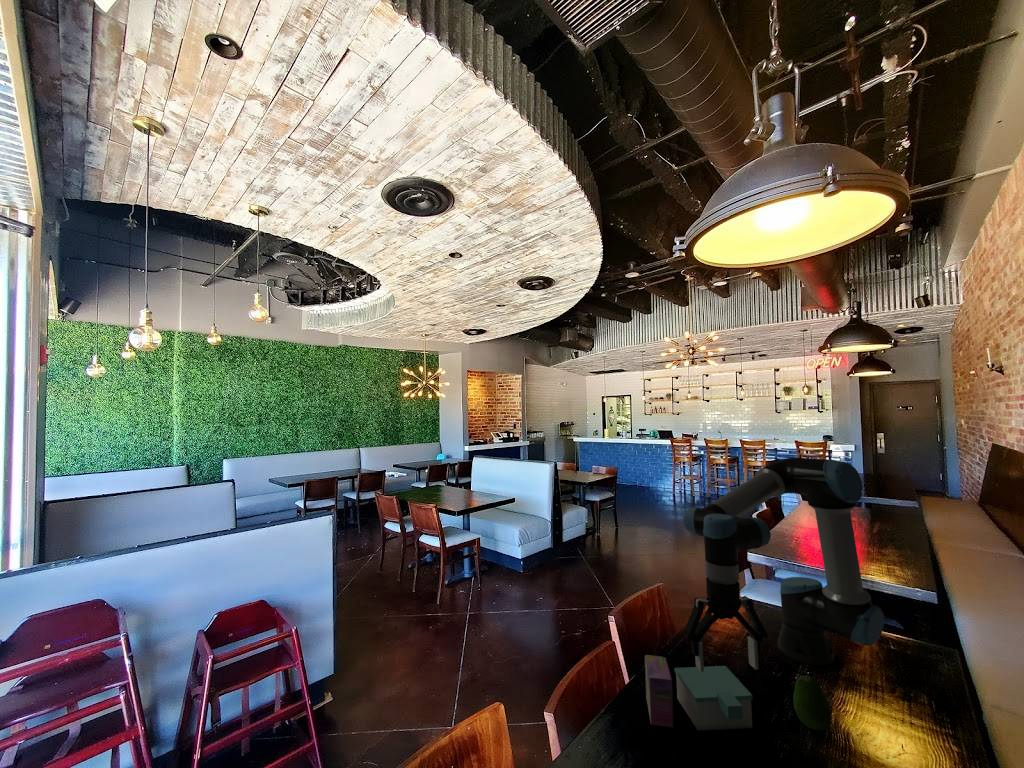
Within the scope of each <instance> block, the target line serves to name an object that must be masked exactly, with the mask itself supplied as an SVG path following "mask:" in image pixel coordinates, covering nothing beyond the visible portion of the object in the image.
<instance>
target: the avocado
mask: <svg viewBox="0 0 1024 768" xmlns="http://www.w3.org/2000/svg"><path fill="white" fill-rule="evenodd" d="M792 697H793V698H792V699H793V707H794V711H795V713H796V716H797V717H798V719H799V720H800V722H801V723H802V724H803V725H804V726H805V727H806V728H808V729H811V730H814V731H824V730H827V729H828V728H829V727H830V725H831V721H832V712H831V707H830V706H831V705H830V704H829V703H830V702H829V701H828V699H827V696H826V695H825V693H824V691H823V688H822V687H821V686H820V684H819V683H818V682H817V680H816V679H814V678H813V677H811V676H809V675H801V676H798V677H797V680H796V682H795V687H794V691H793V696H792Z"/></svg>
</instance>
